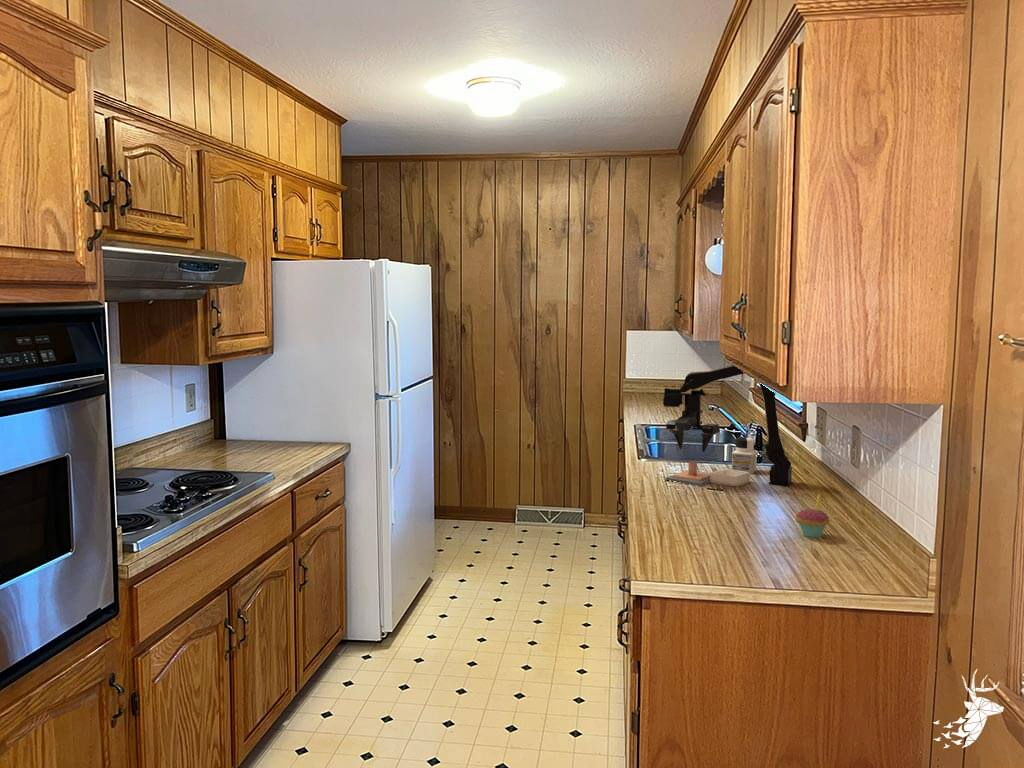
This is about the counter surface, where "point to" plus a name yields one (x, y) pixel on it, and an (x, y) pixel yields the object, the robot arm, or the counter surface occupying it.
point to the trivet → (689, 481)
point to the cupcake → (812, 521)
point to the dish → (729, 477)
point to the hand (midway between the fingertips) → (692, 450)
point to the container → (744, 455)
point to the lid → (692, 473)
